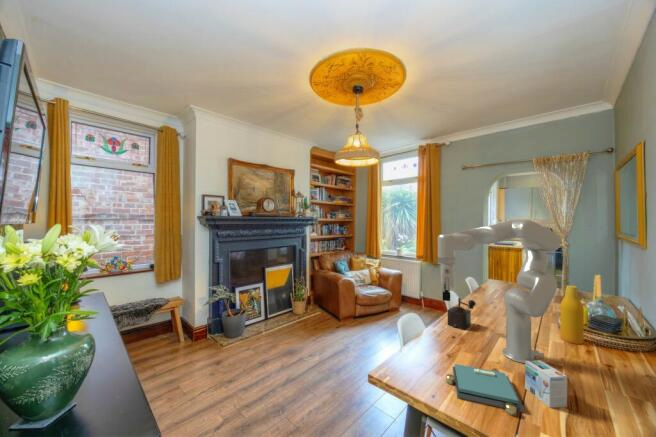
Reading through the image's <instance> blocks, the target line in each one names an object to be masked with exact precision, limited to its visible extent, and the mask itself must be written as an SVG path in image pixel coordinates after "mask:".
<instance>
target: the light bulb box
mask: <svg viewBox="0 0 656 437" xmlns="http://www.w3.org/2000/svg"><path fill="white" fill-rule="evenodd" d="M524 364H525V367H524V368H525V371H524V372H525V373H524V374H525V375H524V377H525V378H524V381H525V382H524V383H525V384H524V387H525V390H526V391H527V392H529V393H530V394H531V395H533V396H534V397H535V398H537V399H538V400H539V401H540V400H541V401H540V402H541V403H543V404H544V405H545V404H546V405H545V406H547V407H548V408H567V407H568V375H566V374H564V373H563V372H561V371H559V370H558V369H556V368H554V367H553V366H551V365H550V364H548V363H546V362H544V361H543V360H535V361H526V363H524Z"/></svg>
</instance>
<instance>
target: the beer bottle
mask: <svg viewBox="0 0 656 437" xmlns="http://www.w3.org/2000/svg"><path fill="white" fill-rule="evenodd" d="M561 300H562V301H561V302H560V307H559V308H560V316H559V318H560V319H559V320H560V321H559V322H560V328H559V329H560V332H559V337H560V339H561V340H563V341H565V342H567V343H569V344H575V345H583V344H584V342H585V341H584V336H585V334H584V332H585V331H584V321H585V320H584V316H585V314H584V313H585V312H584V311H585V309H584V305H583V304H582V302H581V300H580V296H579V291H578V286H576V285H570V284H569V285H568V284H567V285H566V288H565V294H564V297H563V298H562V299H561Z"/></svg>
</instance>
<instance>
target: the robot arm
mask: <svg viewBox="0 0 656 437" xmlns="http://www.w3.org/2000/svg"><path fill="white" fill-rule="evenodd" d="M513 239H520V243H521V245H522V246H523V249H524V251H525V259H524V261H523V263H522V266H521V268H520V270H519V272H518V274H517V276H516V283H517V284H518V286H520V287H521V288H523V289H527V290H529V291H530V292H528V291H525V290H523V289H520V288H509V289H507V290H506V291H505V293H504V297H503V300H504V301H503V302H504V306H505V312H506V321H505V322H506V326H505V327H506V333H505V334H506V335H505V338H506V341H505V342H506V344H505V345H506V346H505V348H503V349H502V350H501V352H502V355H503V356H504V357H506V358H507V359H509V360H512V361H514V362H517V363H522V364H526V361H537V360H536V357H537V358H543V359H544V358H545V354H544V353H543V352H540V351H538V350H535V349H532V318H531V317H533V318H540V317H542V316H543V315H544V314H546V312H547V311H548V308H549V307H550V304H551V303H552V300H553V299H554V296H555V294H556V291H557V290H558V282H557V279H556V278H555V276H553V275H552V274H551V273H547V272H546V270H547V268H548V264H549V258H548V255H547V252H555V251H557V250H558V249H559V248H560V247H561V245H562V241H561V238H560V236H559V235H558V234H557V233H555V232H554V231H553V230H550V229H548V228H547V227H545V226H543V225H541V224H539V223H538V222H535V221H533V220H530V219H511V220H507V221H502V222H498V223H495V224H490V225H485V226H480V227H475V228H470V229H464V230H461V231H457V232H453V233H450V234H448V233H446V234H445V233H441V234H438V236H437V264H438V265H440V266H439V267H440V281H441V286H442V301H444V302H445V301H446V302H450V301H451V287H452V288H454V287H455V285H454V284H455V283H454V266H455V265H456V250H457V251H458V250H459V251H463V252H464V251H466V252H467V251H471V250H473V249H474V248H475V247H476V244H477V245H478V244H479V245H480V244H483V245H490V244H491V245H493V244H498V243H501V242H505V241H510V240H513Z"/></svg>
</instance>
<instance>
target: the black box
mask: <svg viewBox="0 0 656 437" xmlns="http://www.w3.org/2000/svg"><path fill="white" fill-rule="evenodd" d="M457 302H458V306H452V307H450V308H447V326H448V325H449V327H451V328H455V329H459V330H468V329H469V328H470V327H471V326H472V321H471V320H472V319H471V317H472V314H471V313H472V309H473V310H474V307H475V306H476V302H475V300H472V299H470V300H468V304H467V303H465V302H462V301H461V298H460V297H459V298H457ZM461 304H462V305H464V306H466V307H468V308H469V309H467V308H466V309H465V308H464V307H462V306H461Z"/></svg>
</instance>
